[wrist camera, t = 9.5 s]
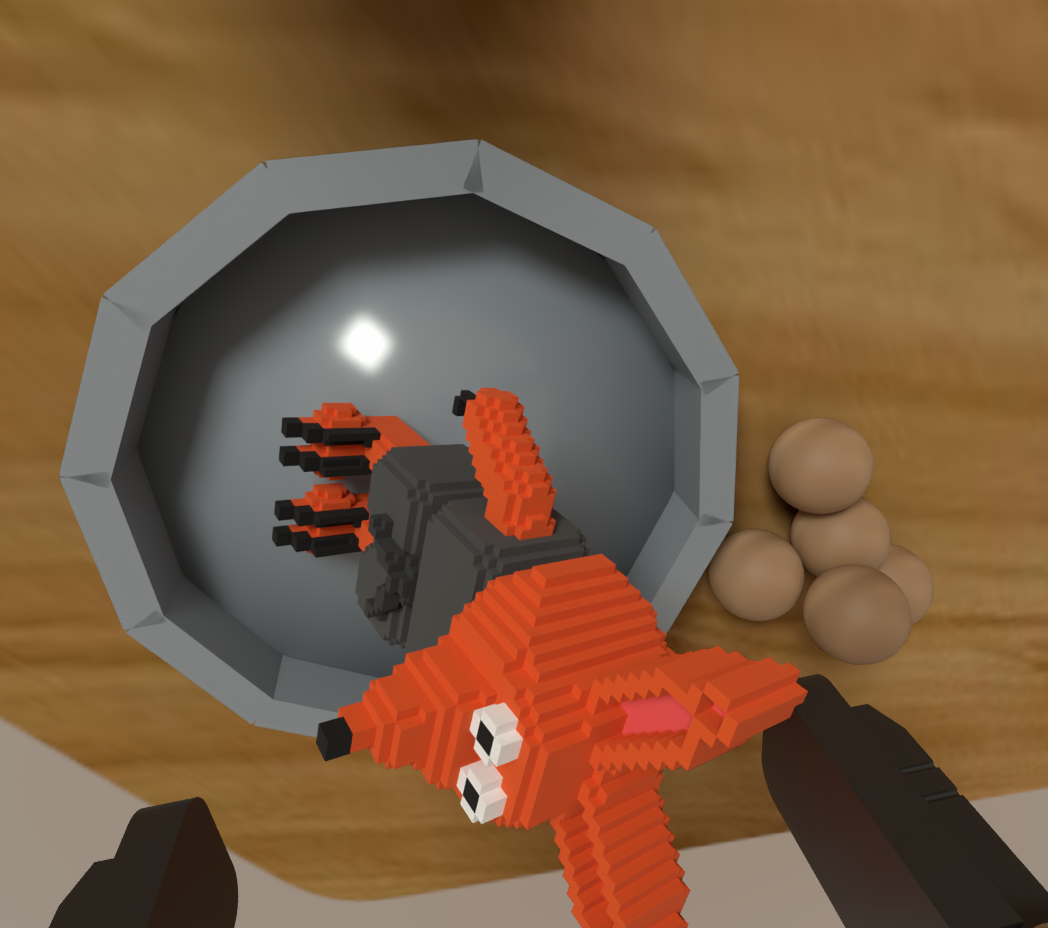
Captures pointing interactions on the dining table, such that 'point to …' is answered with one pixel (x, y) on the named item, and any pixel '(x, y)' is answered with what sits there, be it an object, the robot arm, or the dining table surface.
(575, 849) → the toy animal
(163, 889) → the robot arm
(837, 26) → the dining table surface
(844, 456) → the bead pile
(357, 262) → the dish
